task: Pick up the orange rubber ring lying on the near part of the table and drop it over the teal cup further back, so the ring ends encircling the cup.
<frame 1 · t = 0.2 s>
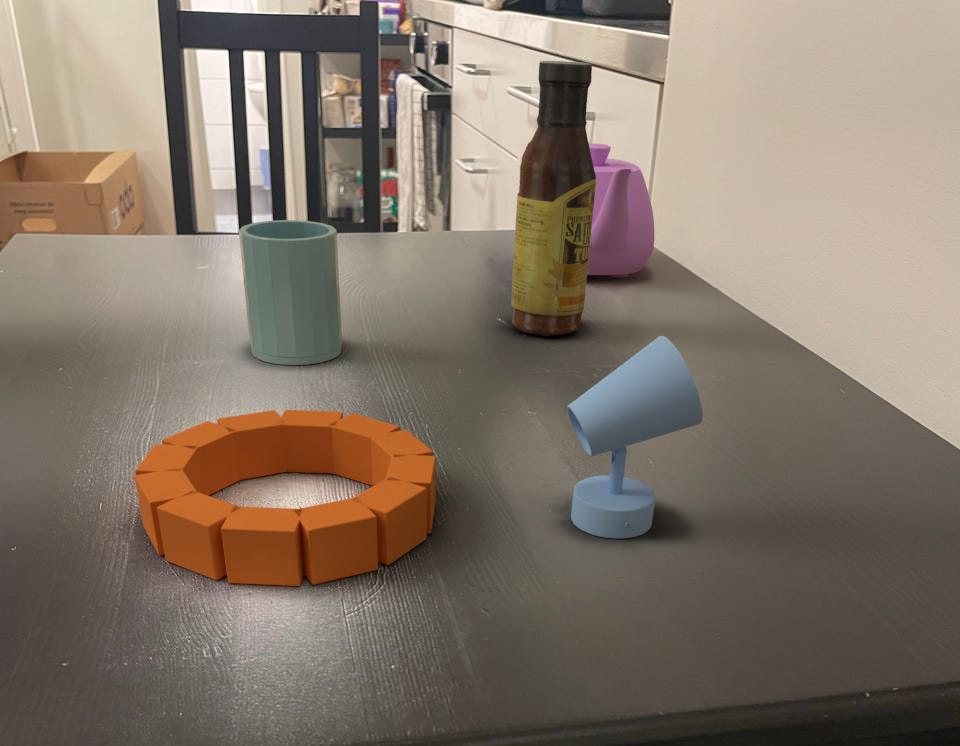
spotlight: (618, 521, 54), on the table
ring: (293, 513, 53), on the table
teapot: (587, 273, 101), on the table
teal cup: (296, 350, 76), on the table
sauce bottle: (546, 330, 84), on the table
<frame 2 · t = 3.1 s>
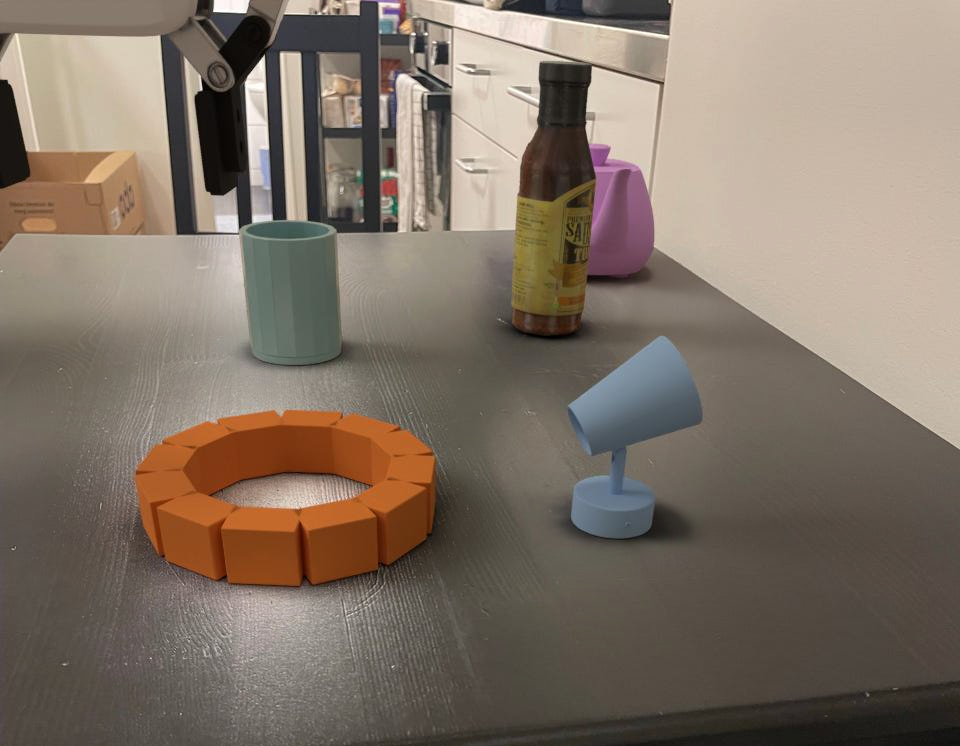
hand: (116, 187, 43), 16 cm above the table, tool pointing down, fingers open, 9 cm apart
nothing on the table moved.
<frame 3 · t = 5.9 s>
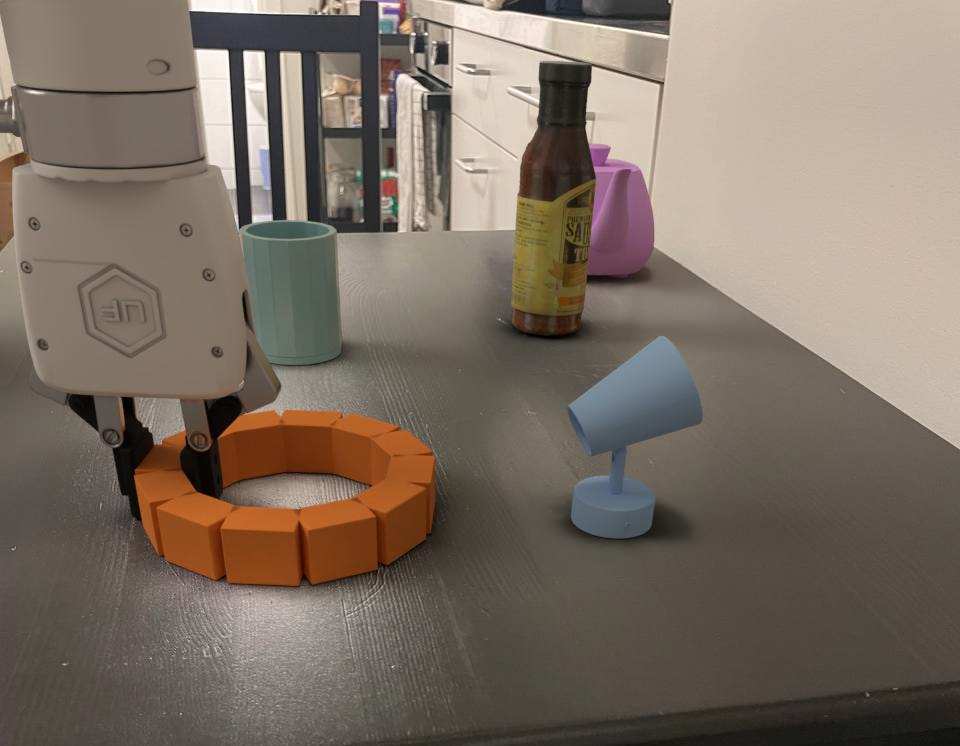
hand: (175, 505, 53), 0 cm above the table, tool pointing down, fingers closed on ring, 2 cm apart
ring: (293, 513, 53), on the table, touching gripper
everything else where it was.
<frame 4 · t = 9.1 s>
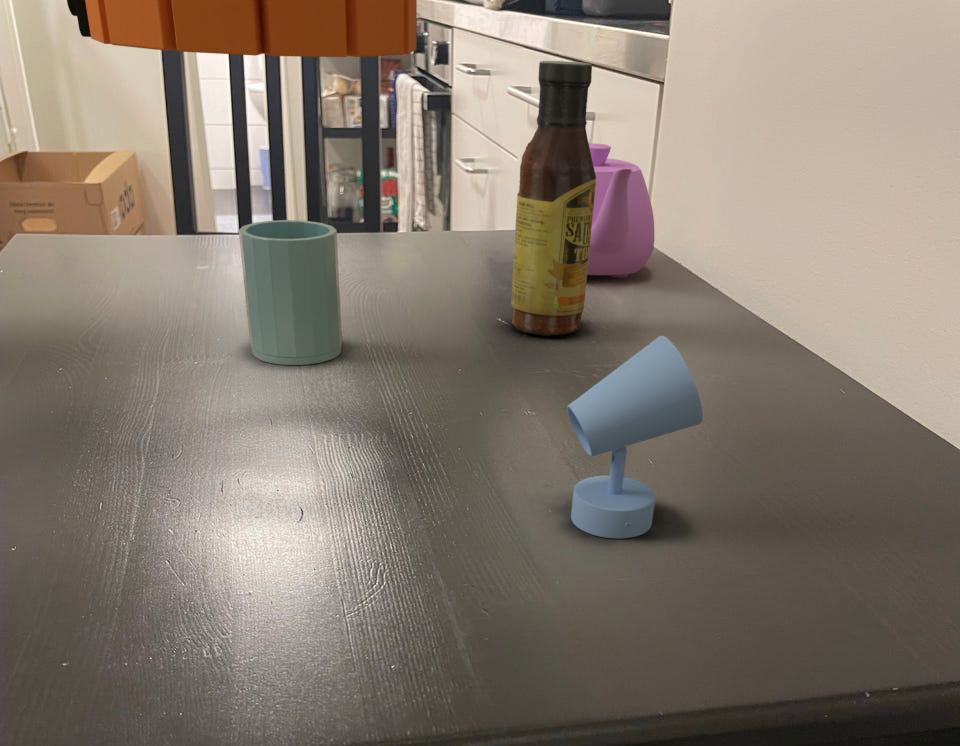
hand: (129, 33, 48), 22 cm above the table, tool pointing down, fingers closed on ring, 2 cm apart
ring: (259, 44, 48), point 22 cm above the table, touching gripper
everything else where it was.
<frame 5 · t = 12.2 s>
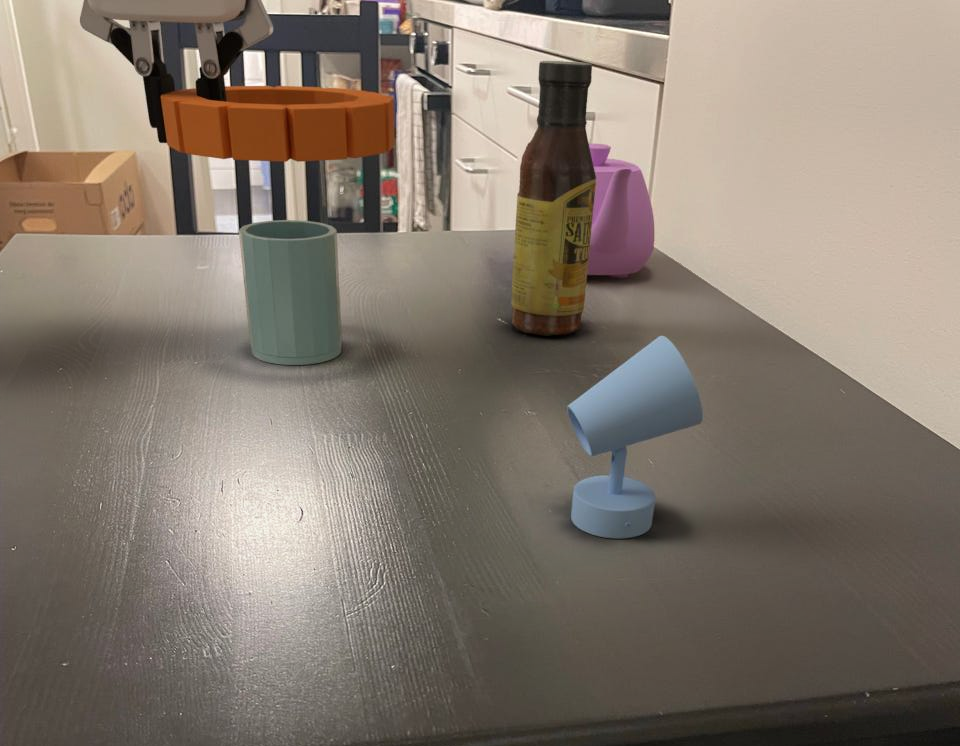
hand: (191, 138, 68), 15 cm above the table, tool pointing down, fingers closed on ring, 2 cm apart
ring: (283, 144, 68), point 15 cm above the table, touching gripper
everything else where it was.
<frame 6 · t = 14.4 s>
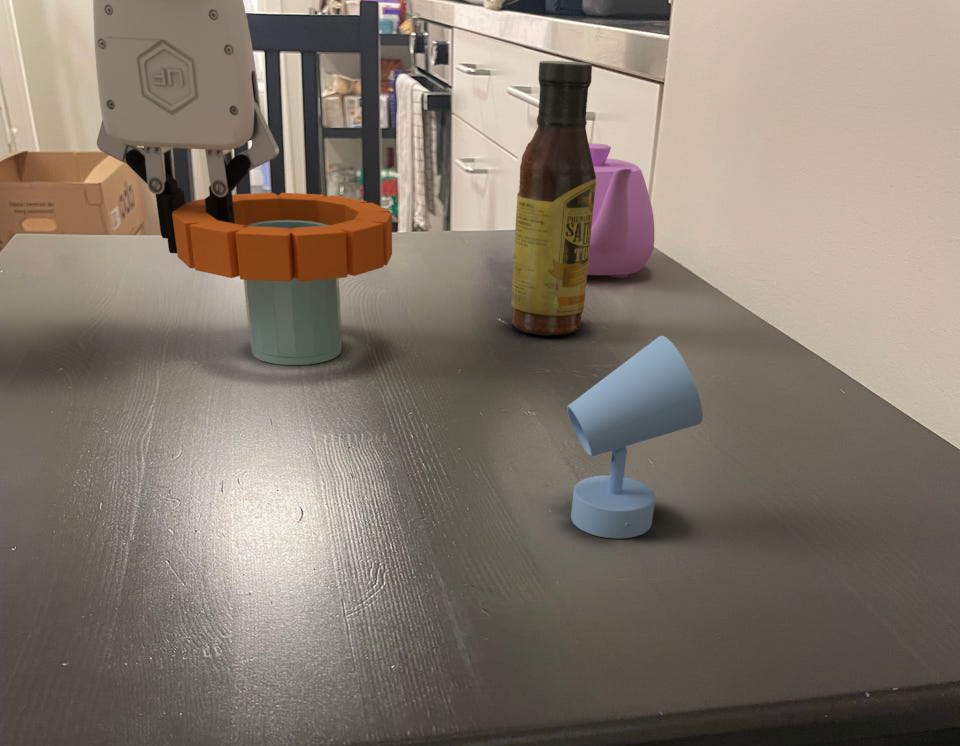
hand: (200, 248, 72), 7 cm above the table, tool pointing down, fingers closed on ring, 2 cm apart
ring: (287, 255, 72), point 7 cm above the table, touching gripper
everything else where it was.
when the fingers open (9 cm above the table, at t = 18.8 s): ring drops 9 cm, on the table.
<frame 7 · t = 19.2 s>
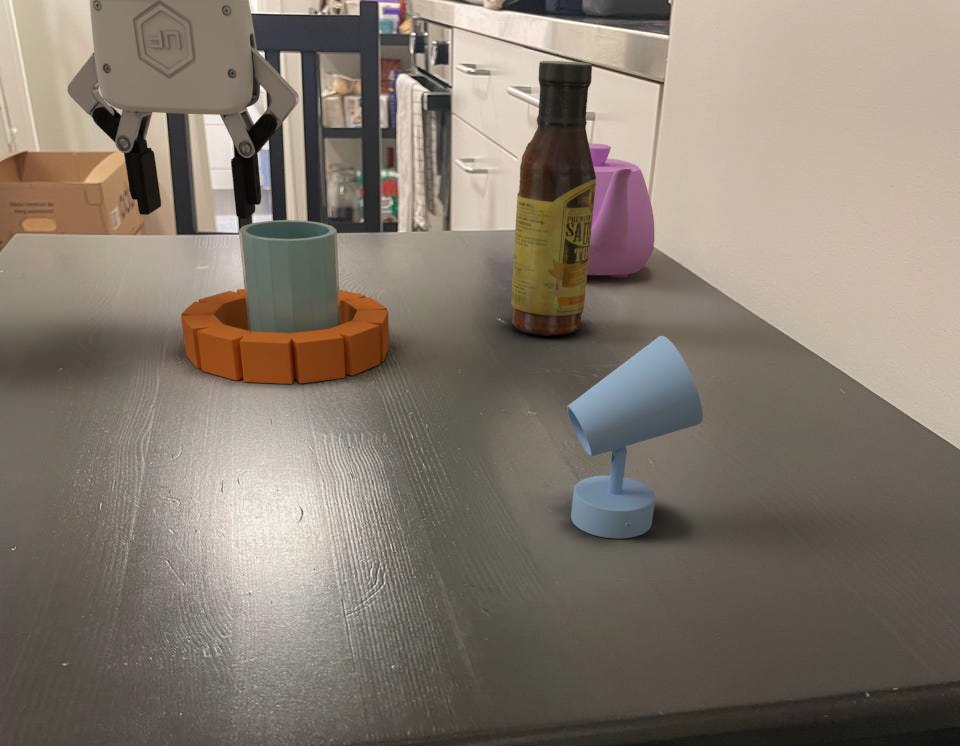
hand: (198, 210, 71), 10 cm above the table, tool pointing down, fingers open, 6 cm apart
ring: (289, 350, 76), on the table
everything else where it was.
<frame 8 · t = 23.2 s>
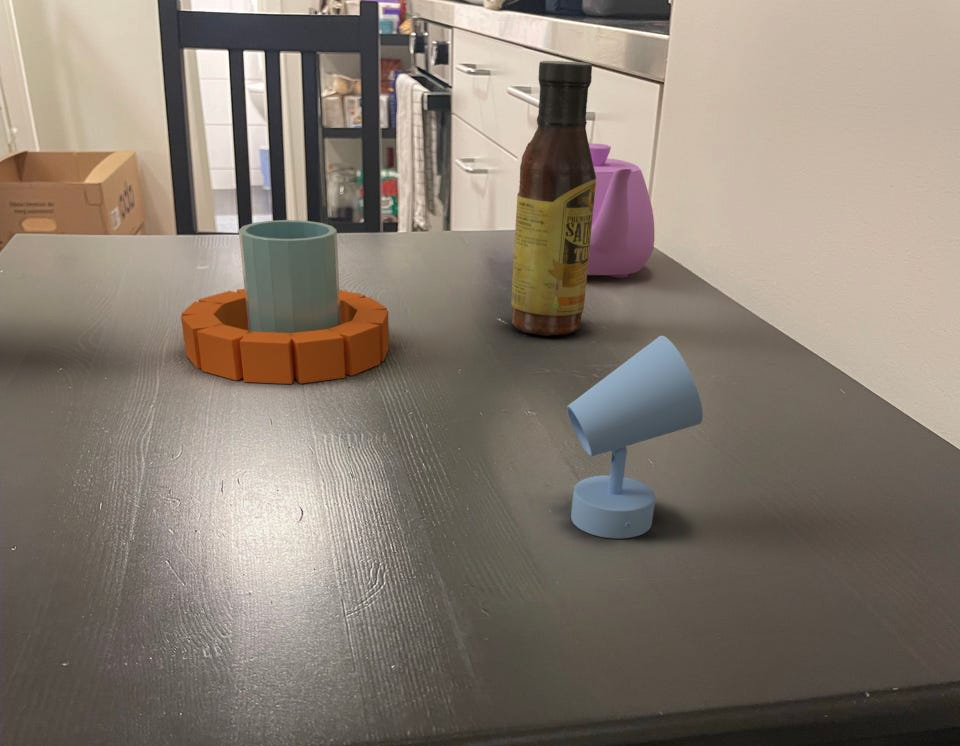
nothing on the table moved.
at the end: ring 0.6 cm from the teal cup (horizontally); ring 0.6 cm off-centre in the teal cup, point 0.0 cm above the teal cup's base; the gripper is holding nothing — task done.
